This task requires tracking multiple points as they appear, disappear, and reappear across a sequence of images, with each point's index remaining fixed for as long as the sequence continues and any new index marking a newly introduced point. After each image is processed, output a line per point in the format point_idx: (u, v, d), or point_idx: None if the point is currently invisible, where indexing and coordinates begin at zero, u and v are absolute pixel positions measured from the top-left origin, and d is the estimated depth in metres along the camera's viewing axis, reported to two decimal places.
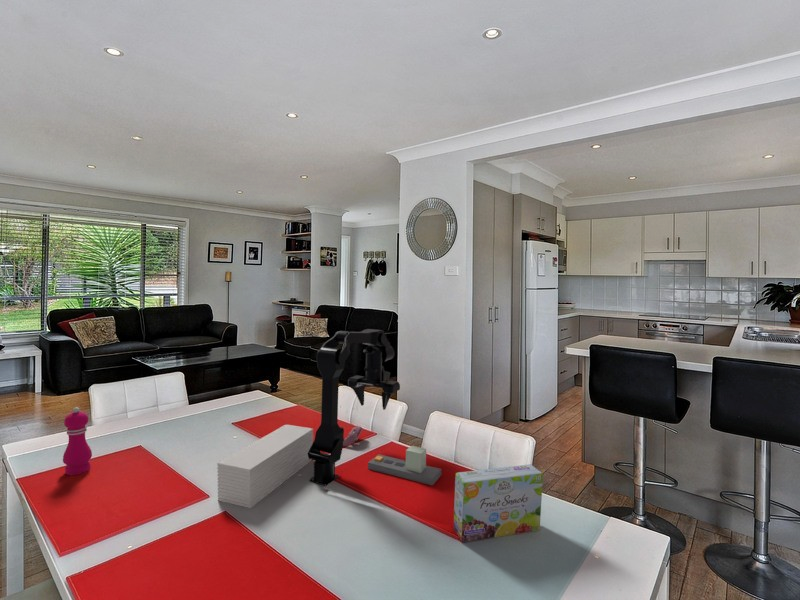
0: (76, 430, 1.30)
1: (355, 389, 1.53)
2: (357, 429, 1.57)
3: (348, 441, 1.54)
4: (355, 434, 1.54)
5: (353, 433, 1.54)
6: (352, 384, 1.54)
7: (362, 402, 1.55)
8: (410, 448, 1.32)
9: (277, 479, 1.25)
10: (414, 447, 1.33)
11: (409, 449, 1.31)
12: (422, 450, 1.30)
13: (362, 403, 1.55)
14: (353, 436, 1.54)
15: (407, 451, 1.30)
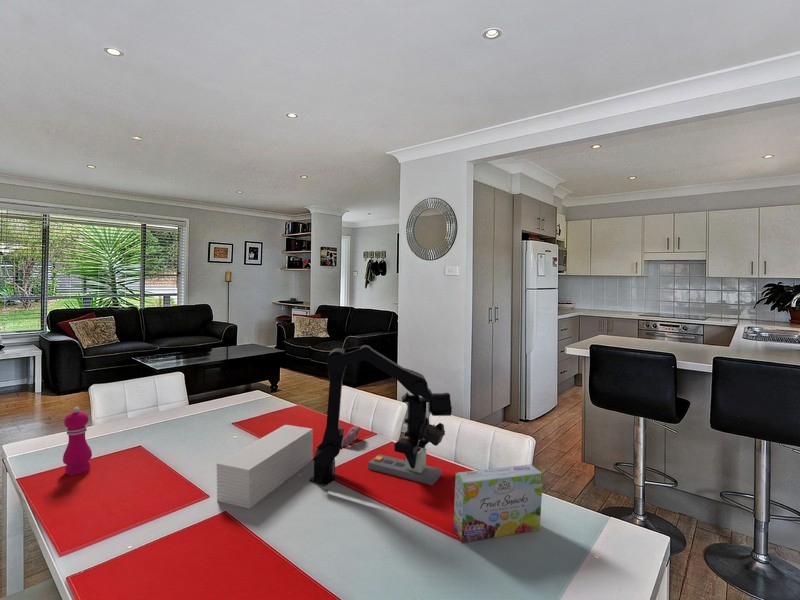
0: (76, 430, 1.30)
1: None
2: (355, 429, 1.57)
3: (346, 441, 1.54)
4: (353, 434, 1.54)
5: (351, 433, 1.54)
6: None
7: None
8: None
9: (276, 479, 1.25)
10: None
11: None
12: (422, 450, 1.30)
13: None
14: (351, 436, 1.54)
15: None
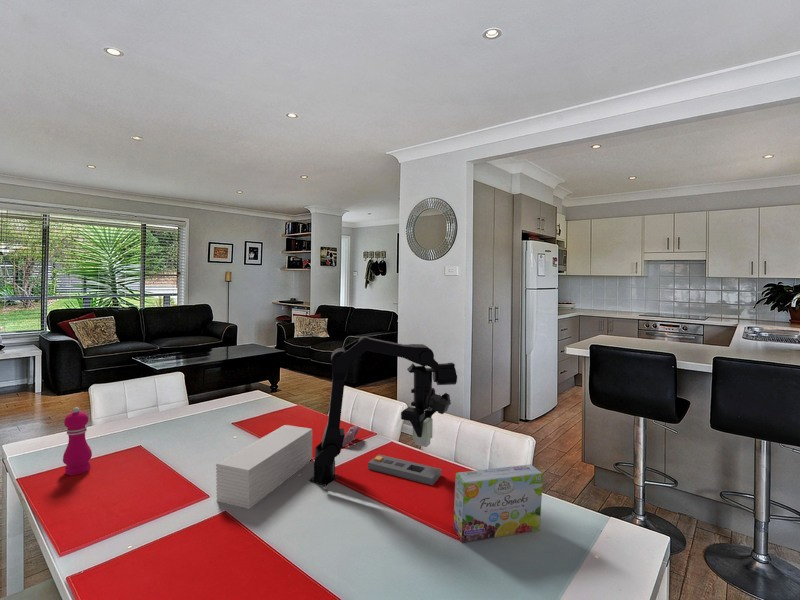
0: (76, 430, 1.30)
1: None
2: (354, 429, 1.57)
3: (345, 441, 1.54)
4: (352, 434, 1.54)
5: (350, 433, 1.54)
6: None
7: None
8: None
9: (276, 480, 1.24)
10: None
11: None
12: (428, 420, 1.33)
13: None
14: (350, 436, 1.54)
15: None
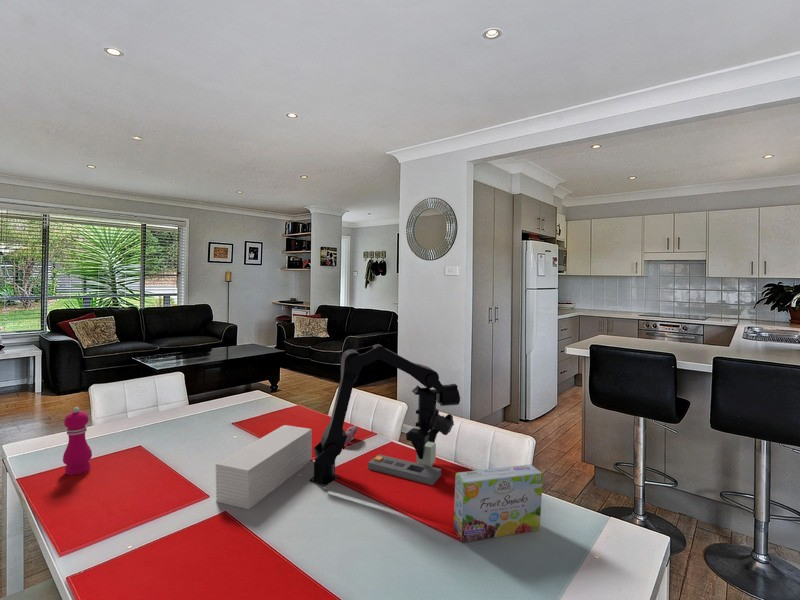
0: (76, 430, 1.30)
1: None
2: (353, 429, 1.57)
3: None
4: (351, 434, 1.54)
5: (349, 433, 1.55)
6: None
7: None
8: None
9: (276, 480, 1.24)
10: None
11: None
12: (432, 444, 1.38)
13: None
14: (349, 436, 1.54)
15: None
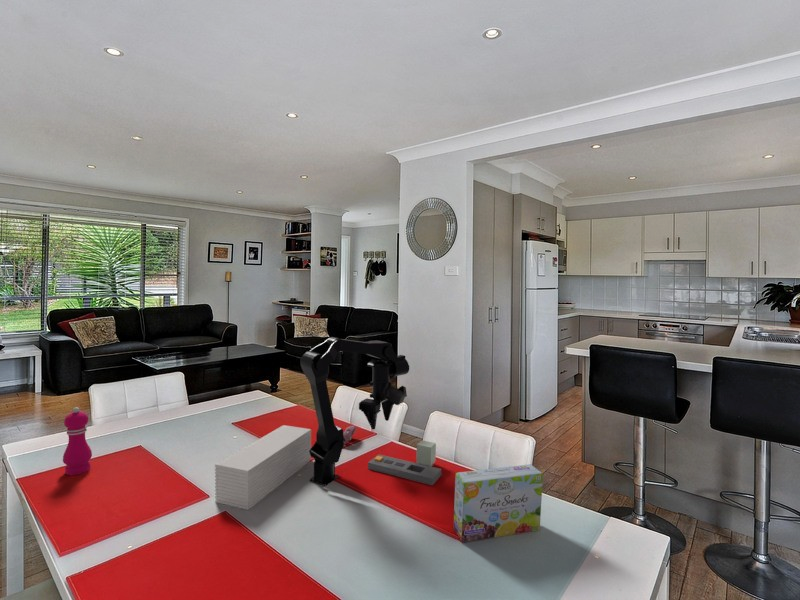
0: (76, 430, 1.30)
1: None
2: (351, 429, 1.57)
3: None
4: (349, 434, 1.54)
5: (347, 433, 1.55)
6: None
7: (385, 417, 1.47)
8: (420, 442, 1.39)
9: (275, 480, 1.24)
10: (424, 441, 1.40)
11: (420, 443, 1.38)
12: (432, 444, 1.38)
13: (386, 418, 1.47)
14: (347, 436, 1.54)
15: (418, 445, 1.37)
